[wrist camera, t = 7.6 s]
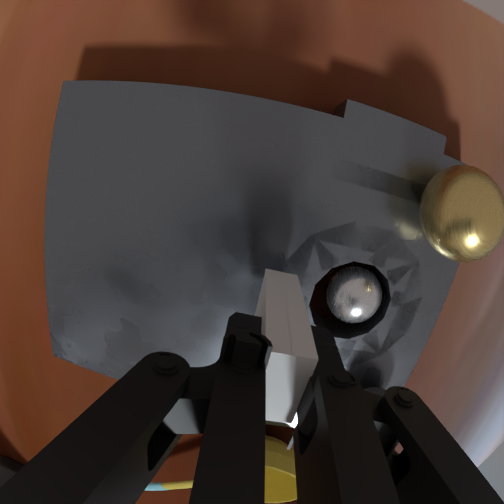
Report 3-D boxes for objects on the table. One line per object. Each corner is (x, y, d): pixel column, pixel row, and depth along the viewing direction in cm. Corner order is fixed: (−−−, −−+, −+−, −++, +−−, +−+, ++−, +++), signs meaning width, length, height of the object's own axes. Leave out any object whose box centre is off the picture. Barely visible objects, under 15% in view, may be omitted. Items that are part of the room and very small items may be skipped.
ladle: (330, 455, 23) (324, 512, 18) (138, 465, 33) (122, 498, 28) (283, 402, 20) (268, 472, 15) (90, 426, 31) (69, 460, 26)
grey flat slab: (70, 348, 21) (54, 365, 19) (88, 72, 15) (67, 64, 13) (368, 410, 22) (375, 432, 19) (464, 154, 16) (486, 156, 14)
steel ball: (318, 324, 16) (374, 338, 16) (335, 268, 16) (394, 284, 15) (320, 302, 19) (368, 314, 19) (334, 254, 19) (384, 267, 18)
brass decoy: (394, 236, 15) (436, 265, 11) (416, 150, 14) (466, 151, 10) (459, 254, 15) (506, 284, 11) (480, 178, 14) (533, 188, 10)
